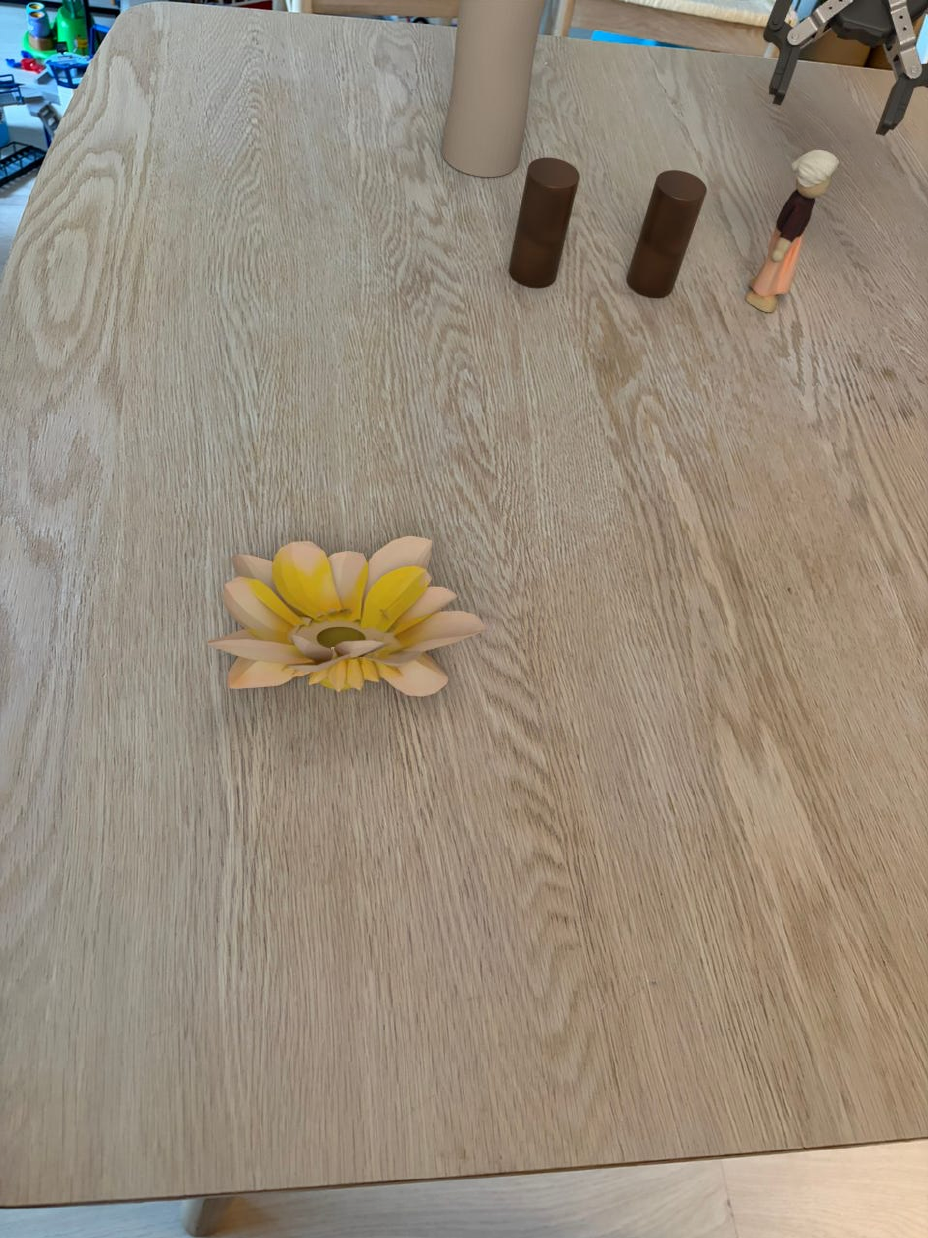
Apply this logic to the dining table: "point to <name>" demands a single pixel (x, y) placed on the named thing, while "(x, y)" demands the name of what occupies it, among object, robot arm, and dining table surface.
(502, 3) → the candle
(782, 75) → the robot arm
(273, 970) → the dining table surface
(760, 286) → the grandmother figurine
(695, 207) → the marker row
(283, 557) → the decorative flower
